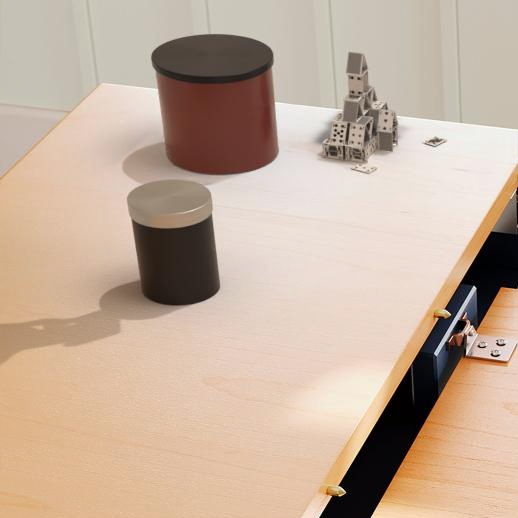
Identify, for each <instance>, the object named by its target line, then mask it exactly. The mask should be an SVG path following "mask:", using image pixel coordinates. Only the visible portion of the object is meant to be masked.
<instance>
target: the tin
mask: <svg viewBox="0 0 518 518" xmlns="http://www.w3.org/2000/svg"><path fill="white" fill-rule="evenodd" d="M150 60H151V66H152V68H153V69H154V71H155V78H156V85H157V94H158V101H159V108H160V117H161V123H162V132H163V139H164V147H165V154H166V158H167V160H168V161H169V162H170V163H171V164H172V165H174V166H176V167H177V168H180V169H182V170H185V171H187V172H191V173H195V174H196V173H197V174H202V175H203V174H205V175H219V176H220V175H234V174H242V173H246V172H251V171H255V170H258V169H261V168H263V167H265V166H267V165H269V164H270V163H272V162H273V161H274V160H275V159H276V158H277V157H278V155H279V153H280V152H279V151H280V147H279V137H278V125H277V123H278V122H277V112H276V111H277V110H276V100H275V89H274V87H275V86H274V76H273V75H274V74H273V66H274V63H275V59H274V52H273V49H272V48H271V47H270V46H269V45H267V44H266V43H264V41H263V42H262V41H260V40H258V39H255V38H251V37H247V36H242V35H237V34H236V35H235V34H225V33H205V34H194V35H187V36H183V37H179V38H178V37H177V38H174V39H171V40H169V41H166V42H164V43H162V44H160V45H158V46H157V47H156V48H154V50H153V51H152V52H151V54H150Z"/></svg>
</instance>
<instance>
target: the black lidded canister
mask: <svg viewBox="0 0 518 518" xmlns="http://www.w3.org/2000/svg"><path fill="white" fill-rule="evenodd" d="M126 203H127V211H128V215H129V218H131V219H130V220H131V226H132V233H133V239H134V240H133V241H134V244H135V245H134V246H135V253H136V260H137V266H138V271H139V279H140V286H141V292H142V294H143V296H144V297H145V298H146V299H147V300H149V301H151V302H153V303H156V304H160V305H164V306H173V307H174V306H175V307H177V306H179V307H180V306H190V305H195V304H200V303H204V302H205V301H208V300H209V299H212V298H213V297H215V296H216V295H217V294H218V292H219V291H220V288H221V280H220V270H219V261H218V253H217V244H216V237H215V228H214V227H215V226H214V218H213V210H214V205H213V197H212V192H211V190H210V189H209V188H208V187H207V186H205V185H203V184H201V183H200V182H199V183H198V182H195V181H192V180H186V179H161V180H155V181H150V182H147V183H143V184H140V185H138V186H136V187H134V188H133V189H132V190H131V191H130V192H129V193H128V195H127V196H126Z"/></svg>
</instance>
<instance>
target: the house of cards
mask: <svg viewBox="0 0 518 518" xmlns="http://www.w3.org/2000/svg"><path fill="white" fill-rule="evenodd" d="M347 52H348V53H347V61H346V69H345V75H347V87H348V93H347V94H346V95H345V97H344V98H343V104H342V111H341V112H339V113H338V114H337V115H336V116H335V117H334V118H333V119H332V120H331V130H330V134H329V135H328V136H327V137H326V138H325V139H324V141H322V156H323V158H328V159H334V160H342V161H345V162H347V161H351V162H357V164H355V165H354V166H351V169H353V170H356V171H358V172H359V171H360V172H363V173H366V174H370V173H372V172H374V171H375V170H377V169H378V167H376V166H373V165H369V164H368V163H369V162H368V161H369V158H370V157H371V155H372V154H373V153H374V152H375V151H376V150H378V151H381V150H383V151H382V152H388V151H389V152H388V153H394V145H393V144H396V145H395V146H397V145H398V146H399V135H398V134H399V132H398V126H399V122H398V118H397V115H396V111H395V110H391V109H389V106H388V103H387V101H383V100H378V96H377V93H376V90H375V85H369V69H370V68H369V66H368V63H367V60H366V56H365V53H362V52H354V51H347ZM446 141H448V138H445V137H441V136H438V135H434V136H432V137H430V138H428V139H426V140H425V141H423V143H424V144H427V145H430V146H433V147H436V146H439V145H440V144H442V143H444V142H446ZM377 146H378V147H377ZM377 148H378V149H377ZM373 151H374V152H373Z"/></svg>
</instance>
